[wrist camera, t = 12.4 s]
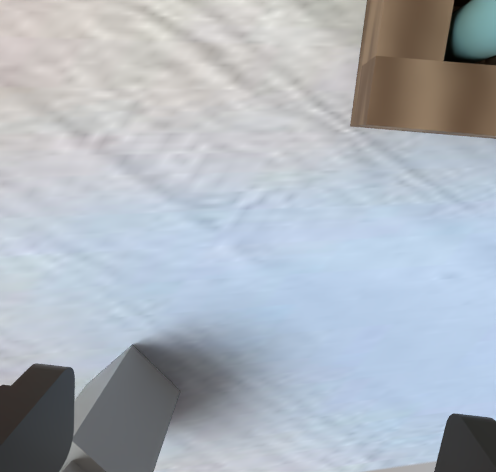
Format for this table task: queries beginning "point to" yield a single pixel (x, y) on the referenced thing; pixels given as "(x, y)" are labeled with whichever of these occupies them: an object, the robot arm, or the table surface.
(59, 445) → the robot arm
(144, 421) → the perfume bottle
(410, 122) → the bore block
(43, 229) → the table surface
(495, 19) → the pin
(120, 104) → the table surface
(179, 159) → the table surface
